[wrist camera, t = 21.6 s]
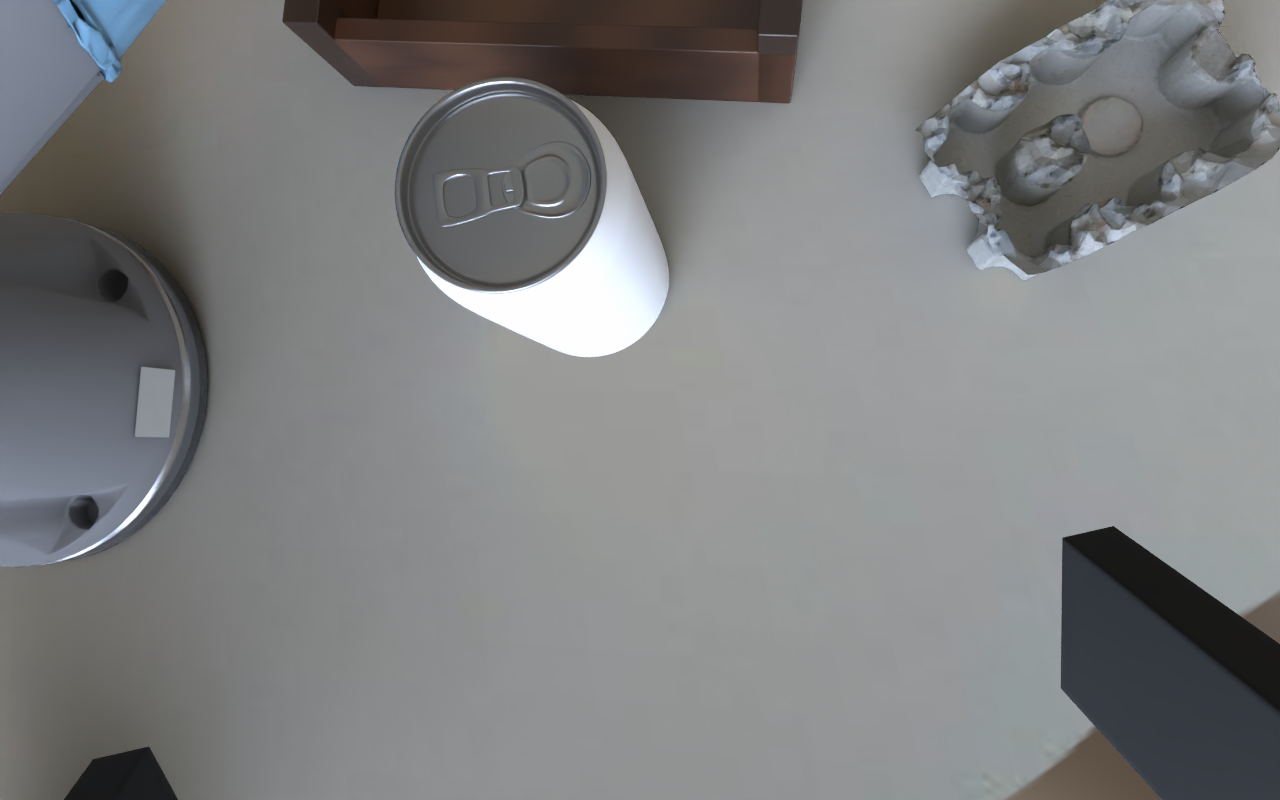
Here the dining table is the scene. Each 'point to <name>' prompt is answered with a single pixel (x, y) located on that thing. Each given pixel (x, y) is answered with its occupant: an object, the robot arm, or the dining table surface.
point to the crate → (562, 44)
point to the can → (532, 217)
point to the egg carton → (1099, 132)
